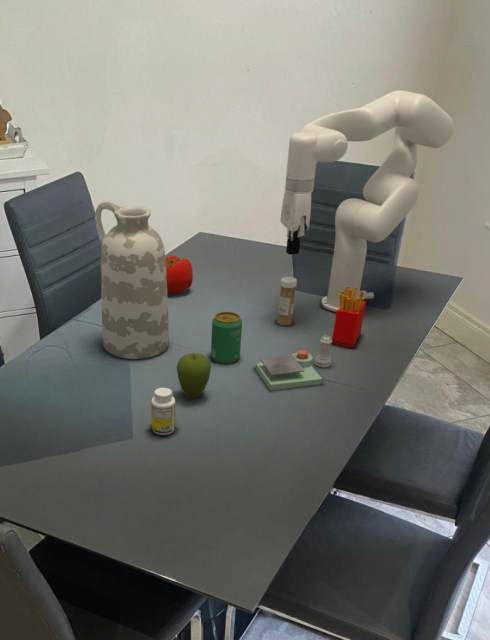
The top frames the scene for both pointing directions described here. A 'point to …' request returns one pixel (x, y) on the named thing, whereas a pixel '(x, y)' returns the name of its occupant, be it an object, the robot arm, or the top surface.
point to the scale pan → (282, 365)
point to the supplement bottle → (163, 411)
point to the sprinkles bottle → (286, 300)
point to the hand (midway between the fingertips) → (292, 253)
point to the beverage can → (226, 337)
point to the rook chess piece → (324, 353)
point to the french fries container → (348, 318)
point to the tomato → (178, 274)
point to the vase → (133, 284)
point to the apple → (193, 373)
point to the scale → (291, 375)
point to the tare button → (302, 354)
